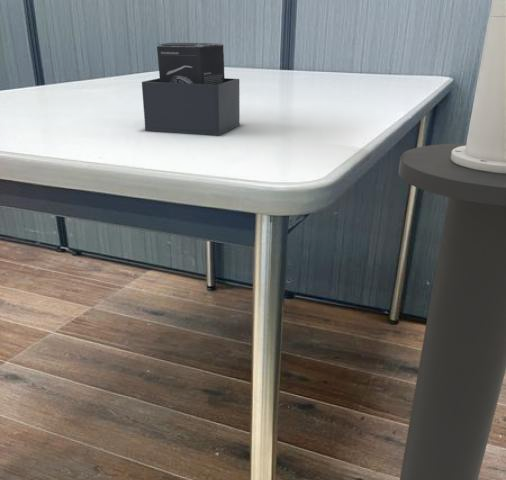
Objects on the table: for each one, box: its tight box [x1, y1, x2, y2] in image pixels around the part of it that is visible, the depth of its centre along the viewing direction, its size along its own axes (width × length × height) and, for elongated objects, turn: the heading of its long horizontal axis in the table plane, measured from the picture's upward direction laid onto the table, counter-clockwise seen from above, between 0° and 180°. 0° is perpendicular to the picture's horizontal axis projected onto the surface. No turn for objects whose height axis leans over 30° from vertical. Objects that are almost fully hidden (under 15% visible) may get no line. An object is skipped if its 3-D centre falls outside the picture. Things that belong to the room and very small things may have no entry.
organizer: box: [141, 77, 241, 136], centre depth 86 cm, size 11×9×6 cm
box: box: [156, 42, 226, 85], centre depth 84 cm, size 8×6×11 cm
